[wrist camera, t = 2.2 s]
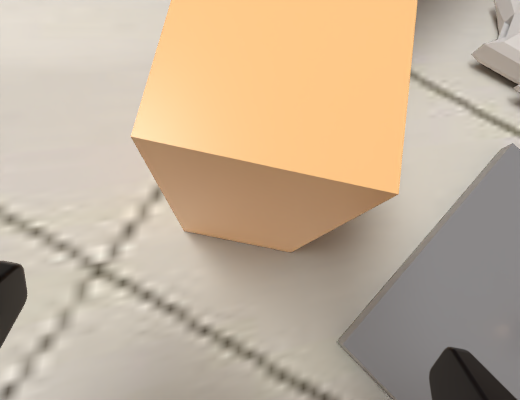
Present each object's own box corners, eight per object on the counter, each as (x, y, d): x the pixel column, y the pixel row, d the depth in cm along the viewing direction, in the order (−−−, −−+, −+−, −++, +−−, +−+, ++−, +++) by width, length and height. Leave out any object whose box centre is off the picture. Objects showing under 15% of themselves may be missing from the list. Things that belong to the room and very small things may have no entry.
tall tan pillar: (290, 252, 21) (398, 194, 8) (184, 230, 21) (130, 136, 8) (307, 153, 23) (419, -22, 10) (208, 131, 22) (194, -78, 10)
